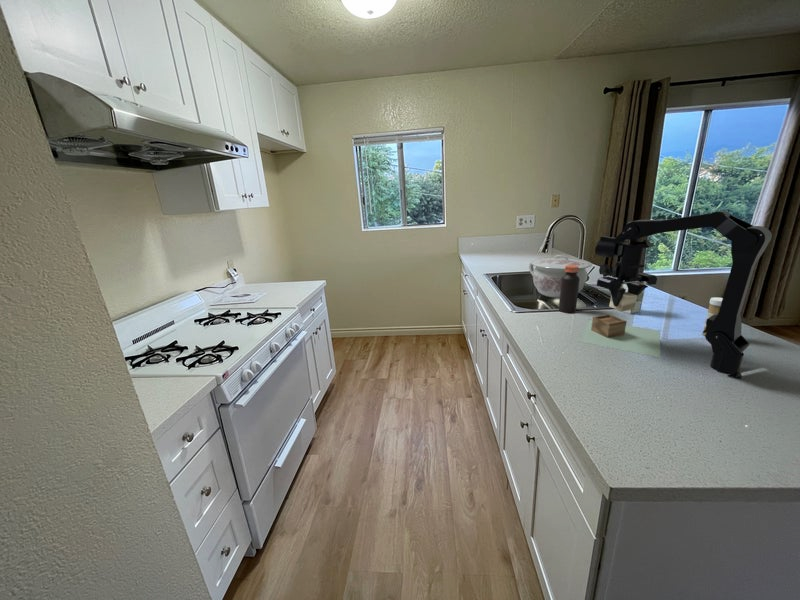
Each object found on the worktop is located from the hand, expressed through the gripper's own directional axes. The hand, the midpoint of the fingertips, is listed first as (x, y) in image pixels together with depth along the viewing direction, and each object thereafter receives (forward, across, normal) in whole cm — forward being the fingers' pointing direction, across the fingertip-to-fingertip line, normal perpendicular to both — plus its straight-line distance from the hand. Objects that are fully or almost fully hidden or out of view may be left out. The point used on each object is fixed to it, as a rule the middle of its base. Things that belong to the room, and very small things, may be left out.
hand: (621, 305), depth 108 cm
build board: (+13, -2, 0) cm, 13 cm away
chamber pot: (+14, -18, -51) cm, 56 cm away
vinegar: (+14, -6, -30) cm, 33 cm away
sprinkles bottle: (+12, -31, +9) cm, 35 cm away
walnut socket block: (+12, 0, -4) cm, 13 cm away
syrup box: (+13, -28, -19) cm, 36 cm away
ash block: (+1, 0, 0) cm, 1 cm away
